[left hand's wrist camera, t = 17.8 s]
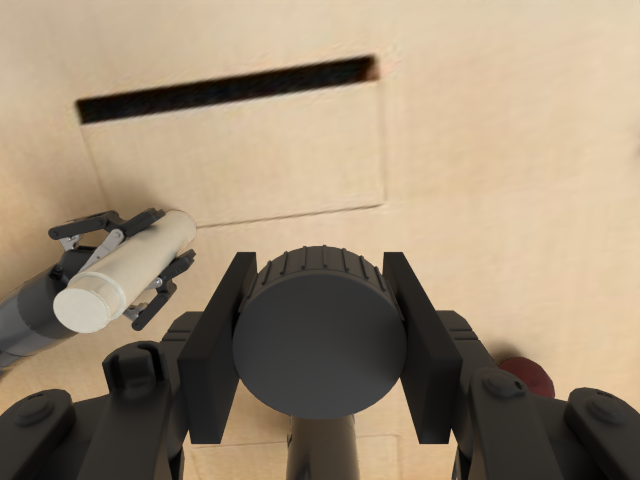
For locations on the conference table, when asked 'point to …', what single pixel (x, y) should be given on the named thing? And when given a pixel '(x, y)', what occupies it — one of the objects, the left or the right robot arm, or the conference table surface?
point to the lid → (319, 334)
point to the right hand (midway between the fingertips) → (175, 234)
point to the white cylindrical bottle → (122, 274)
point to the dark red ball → (530, 375)
